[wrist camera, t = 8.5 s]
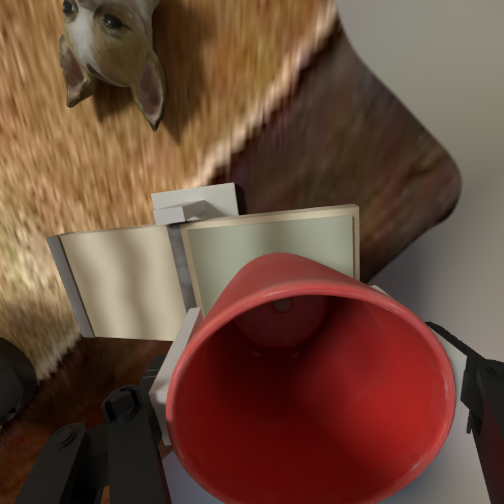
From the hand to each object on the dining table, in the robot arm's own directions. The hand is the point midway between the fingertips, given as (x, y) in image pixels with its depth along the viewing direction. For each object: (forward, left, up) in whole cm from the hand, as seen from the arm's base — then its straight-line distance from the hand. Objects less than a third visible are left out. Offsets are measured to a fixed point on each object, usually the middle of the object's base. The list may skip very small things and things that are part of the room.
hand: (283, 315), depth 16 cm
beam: (-8, 0, -9) cm, 12 cm away
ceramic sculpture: (-12, +24, -17) cm, 32 cm away
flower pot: (0, 0, -3) cm, 3 cm away
